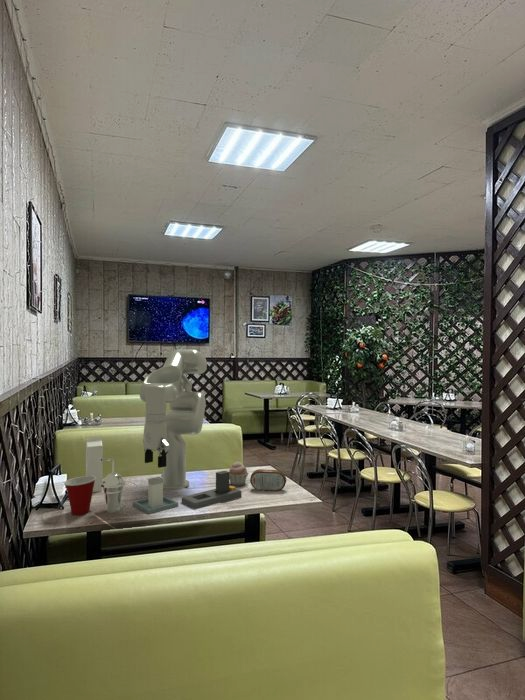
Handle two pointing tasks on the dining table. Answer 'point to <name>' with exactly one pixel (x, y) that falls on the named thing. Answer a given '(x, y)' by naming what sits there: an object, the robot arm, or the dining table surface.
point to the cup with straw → (112, 489)
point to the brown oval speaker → (268, 480)
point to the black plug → (222, 482)
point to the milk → (95, 461)
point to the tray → (144, 507)
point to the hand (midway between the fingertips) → (155, 464)
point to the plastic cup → (80, 493)
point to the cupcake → (237, 474)
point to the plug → (155, 492)
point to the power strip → (210, 497)
